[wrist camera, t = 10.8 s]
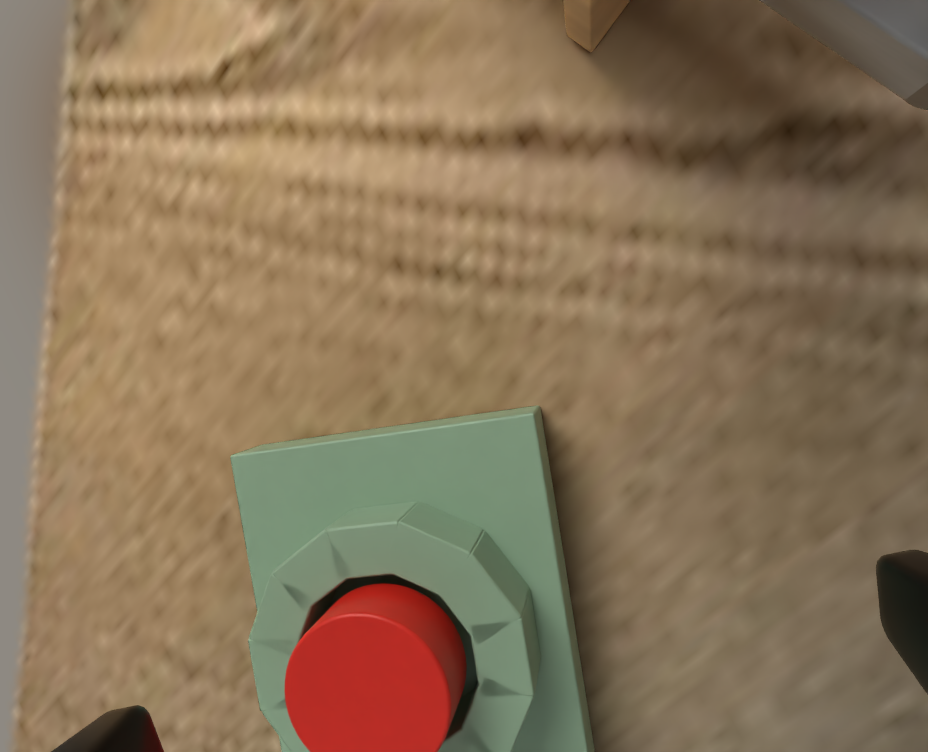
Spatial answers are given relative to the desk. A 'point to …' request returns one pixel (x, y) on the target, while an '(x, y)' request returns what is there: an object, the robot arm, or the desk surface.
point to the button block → (424, 563)
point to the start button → (376, 674)
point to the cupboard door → (820, 35)
